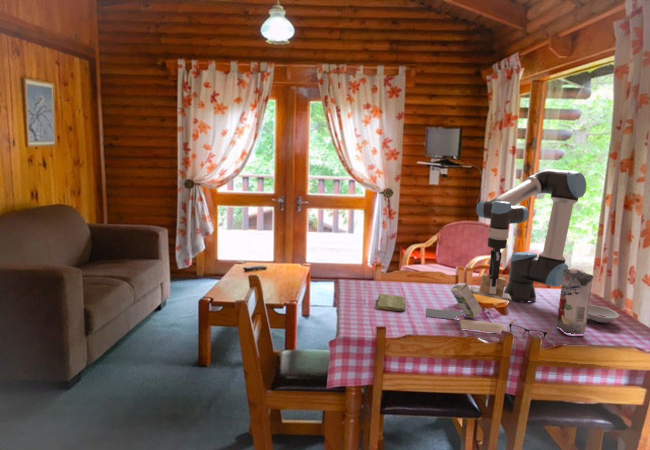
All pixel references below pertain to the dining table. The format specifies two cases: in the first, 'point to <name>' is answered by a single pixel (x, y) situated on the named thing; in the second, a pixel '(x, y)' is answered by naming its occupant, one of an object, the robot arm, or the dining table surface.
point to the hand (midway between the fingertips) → (491, 291)
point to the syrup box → (466, 300)
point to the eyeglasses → (526, 329)
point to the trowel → (486, 284)
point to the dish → (601, 313)
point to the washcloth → (391, 302)
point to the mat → (442, 314)
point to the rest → (482, 326)
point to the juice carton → (574, 301)
